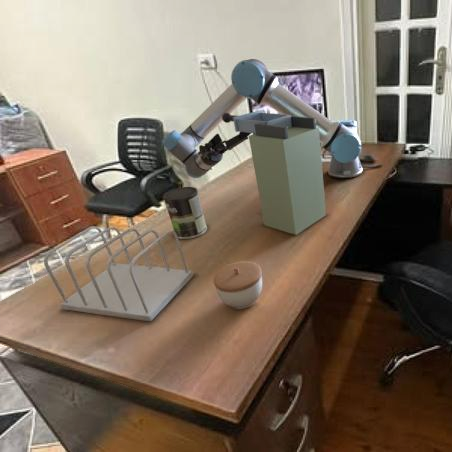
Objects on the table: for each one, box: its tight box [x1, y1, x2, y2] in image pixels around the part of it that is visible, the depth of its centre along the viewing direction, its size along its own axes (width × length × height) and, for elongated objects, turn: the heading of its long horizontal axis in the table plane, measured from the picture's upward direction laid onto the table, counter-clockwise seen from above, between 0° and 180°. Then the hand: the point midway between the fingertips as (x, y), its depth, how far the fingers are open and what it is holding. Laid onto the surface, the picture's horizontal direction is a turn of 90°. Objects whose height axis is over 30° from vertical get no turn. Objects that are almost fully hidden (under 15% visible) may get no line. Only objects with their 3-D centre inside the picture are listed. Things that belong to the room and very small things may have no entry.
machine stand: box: [248, 116, 327, 236], centre depth 112 cm, size 14×16×33 cm
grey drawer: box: [222, 109, 292, 134], centre depth 112 cm, size 26×12×4 cm, turn 54°
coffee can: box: [162, 186, 208, 240], centre depth 114 cm, size 10×10×14 cm
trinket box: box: [213, 260, 263, 310], centre depth 81 cm, size 11×11×9 cm
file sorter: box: [43, 225, 194, 322], centre depth 85 cm, size 25×17×16 cm
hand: (235, 132), depth 119 cm, fingers open, 13 cm apart
